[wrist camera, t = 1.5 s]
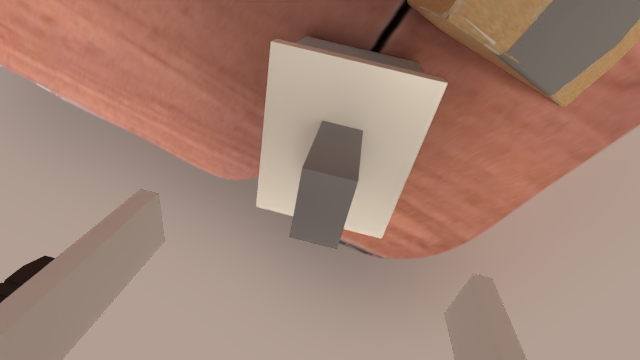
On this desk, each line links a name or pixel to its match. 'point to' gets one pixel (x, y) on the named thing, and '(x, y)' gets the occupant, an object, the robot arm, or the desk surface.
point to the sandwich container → (542, 37)
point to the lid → (340, 139)
